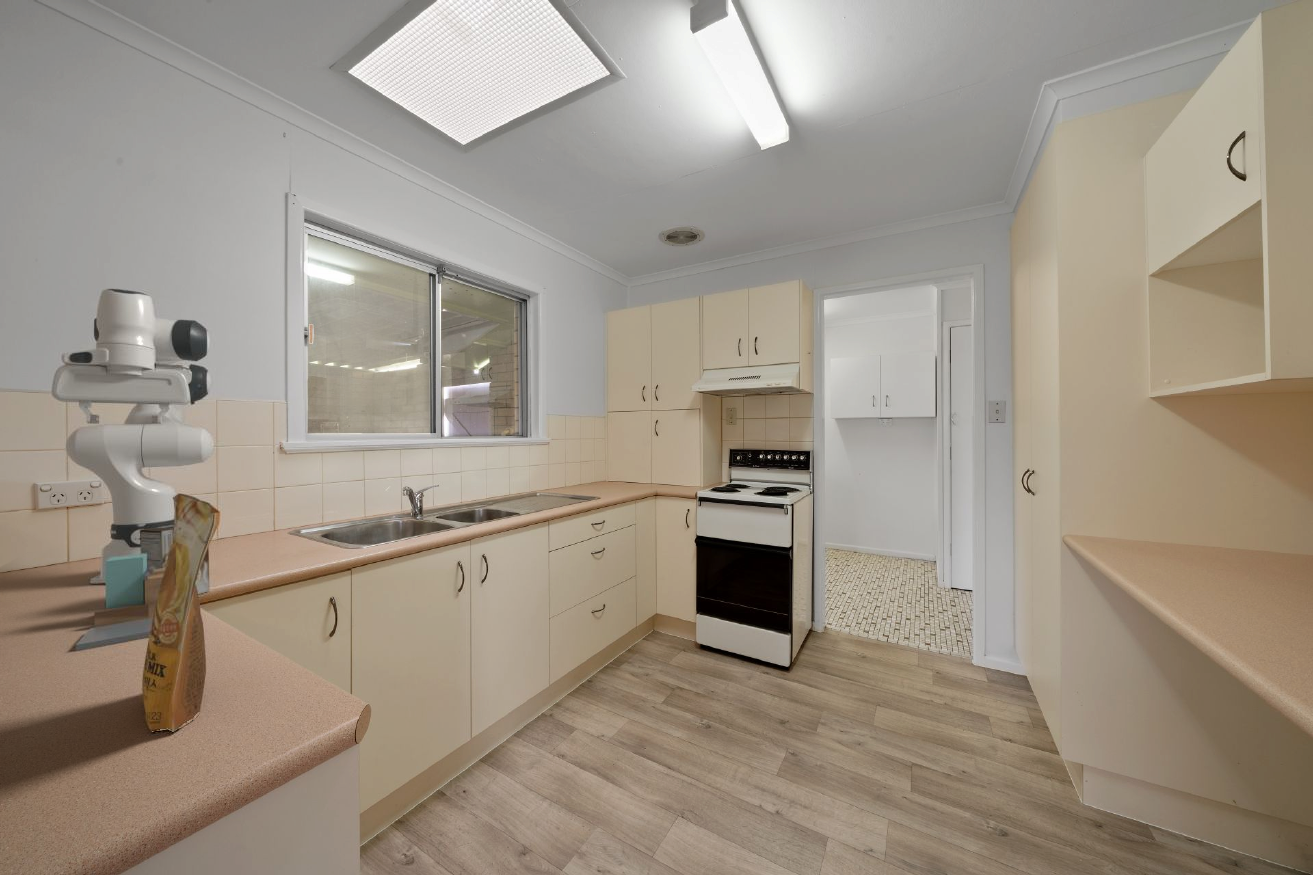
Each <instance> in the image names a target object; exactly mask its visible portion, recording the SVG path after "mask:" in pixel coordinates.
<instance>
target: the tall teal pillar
mask: <svg viewBox="0 0 1313 875" xmlns="http://www.w3.org/2000/svg"><path fill="white" fill-rule="evenodd" d="M105 571H106V583H105V601H106V610H107V609H113V608H119V607H126V606H132V605H139V604H145V580H144V581H143V575H144V574H145V573H146V571H147V553H145V554H136V555H126V556H117V557H110V558H109V559H108V560H106V561H105Z"/></svg>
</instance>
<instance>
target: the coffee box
mask: <svg viewBox="0 0 1313 875" xmlns="http://www.w3.org/2000/svg"><path fill="white" fill-rule="evenodd" d="M173 528H174V525H168V526H161V527H155V528H149V529H142V530H140V551H141V554H145V553H147V570H148V569H149V568H150V567H151V566H153V565H155V569H159V568H166V564H167V559H168V555H169V551H170V547H171V544H172V536H173ZM209 546H210V545H209ZM209 546H208V549H207V552H206V554H205V557H204V559H203V562H202V564H201V567H200V569H199V572H198V575H197V579H196V583H195V584H196V588H197V592H198V595H201V594H205V593H208V592H210V590H211V589H210V560H209V557H210V550H209Z"/></svg>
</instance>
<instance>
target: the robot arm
mask: <svg viewBox="0 0 1313 875" xmlns="http://www.w3.org/2000/svg"><path fill="white" fill-rule="evenodd" d="M93 337H94V340H95V341H96V343H95V348H93V349H86V350H79V351H71V352H70V351H69V352H65V353H62V354H61V362H62V363H63V365H61V366H59V367H58V368H57V369H56V370H55V372H54V376H53V381H52V385H51V386H52V387H51V397H53V398H54V399H55V400H56V401H59V402H62V403H78V407H79V408H80V409H81V411H82V412H83V413H84V414H85V415H86V424H89V425H87V426H81V427H79V428H76V429H75V430H74V431H72V433H71V434H70V435H69V436H68V438H67V440H66V443H65V450H66V454H67V456H68V457H69V459H70V460H71V461H72V462H74V463H75V464H76V465H78V466H79V467H82V468H84V469H87V470H88V471H89V472H92V473H93V474H95V475H96V476H97V477H98V478H100V480H101V481H103V483H104V485H106V487H107V489H108V491H109V493H110V497H111V504H112V514H113V516H112V517H113V523H112V524H111V525H110V530H109V532H110V539H111V541H110V542H109V543H108V544H107V545H105V546H104V547H102V549H101V555H100V556H101V557H100V558H101V559H100V574H98V575H96V576H94V577H92V578H90V581H89V584H106V571H105V561H106V560H108V559H109V558H110V557H117V556H126V555H136V554H141V551H140V530H142V529H149V528H155V527H161V526H168V525H174V514H175V509H174V500H173V497H174V496H176V495H177V492H176V489H175V488H174V487H173V486H171V485H170V484H168V483H165V482H163V481H160V480H157V479H154V478H149V477H147V476H146V475H145V474H144V473H143V469H144V468H159V467H160V468H163V467H164V468H165V467H166V468H169V467H184V466H190V465H195V464H200V463H205V462H206V461H207V460H209V458H210V457H211V455H213V452H214V449H215V441H214V438H213V436H212V434H210V433H211V432H209V431H208V430H206V429H205V428H204V427H198V426H195V425H190V424H187V423H185V411H184V406H187V405H189V404H190V405H191V406H192V405H193V406H194V405H195V404H196V402H198V401H200V400H202V399H204V398H205V397H206V396H208V395H209V392H210V390H212V385H213V378H212V376H211V374H210V372H209V370H208V369H207V368H206V367H204V366H203V365H197V364H192V363H190V364H186V363H180V362H183V361H190V362H198V361H200V360H202V359H204V358H205V357H206V356H207V355H208V352H209V351H210V347H211V338H210V334H209V332H208V330H207V328H206V327H205V326H204V325H202V324H200V322H198V321H196V320H193V319H192V320H191V319H174V318H166V317H156V313H155V306H154V302H153V298H152V297H151V296H150V295H148V294H147V293H146V294H145V293H143V292H140V291H139V292H138V291H135V290H134V291H133V290H127V289H120V288H119V289H118V288H107V289H102V291H101V292H100V296H99V299H98V305H97V310H96V317H95V318H94V320H93ZM93 403H94V404H124V405H125V404H127V405H128V404H129V405H130V404H131V405H134V404H135V405H134V407H132V409H131V411H130V412H129V414H128V415H127V417H126V418H125V420H124V421H123V422H124V423H123V424H122V423H121V424H120V423H117V424H116V423H113V424H112V423H105V424H100V415H98V414H93V413H92V412H91V410H90V409H91V408H92V404H93ZM90 424H91V425H90ZM92 424H94V425H92Z"/></svg>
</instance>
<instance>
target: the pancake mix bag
mask: <svg viewBox="0 0 1313 875" xmlns="http://www.w3.org/2000/svg"><path fill="white" fill-rule="evenodd" d="M173 500H174V509H175V514H174V528H173V536H172V544H171V547H170V551H169V555H168V559H167V564H166V568H165V572H164V575H163V579H162V582H161V585H160V589H159V594H158V598H157V602H156V606H155V611H154V617H153V621H152V626H151V631H150V636H149V637H148V642H147V647H146V652H145V658H144V663H143V664H144V665H143V670H142V671H143V672H142V683H141V684H142V685H141V687H142V688H141V689H142V690H141V691H142V700H143V705H144V706H143V707H144V711H145V721H146V724H147V727H148V729H150V730H149V732H150V733H151V732H152V731H157V730H160V729H167V728H168V729H170V730H171V731H172V732H174V731H175V730H176V729H178V728H179V727H181V726H182V725H183V724H184V723H187V721H189V720H191V719H193V718H194V716H195V715H196V714H197V713H198V712H200V711H201V705H202V700H203V696H204V695H203V694H204V690H205V681H206V674H207V658H206V644H205V642H206V640H205V631H204V622H203V617H202V613H201V604H200V596H199V594H198V592H197V588H196V584H195V583H196V579H197V575H198V572H199V569H200V567H201V564H202V562H203V559H204V557H205V554H206V552H207V549H208V546H210V545H211V543H212V542H211V541H212V540H213V537H214V535H215V533H216V531H217V529H218V528H219V525H220V522H221V521H220V518H221V511H220V510H218V508H216V507H215V506H214V505H212V504H211V502H207V501H206V500H205V501H204V500H201V499H199V498H197V497H195V496H193V495H188V494H184V493H180V492H179V493H176V496H174V497H173ZM200 713H201V712H200ZM172 732H171V733H172ZM174 733H175V732H174Z"/></svg>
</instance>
